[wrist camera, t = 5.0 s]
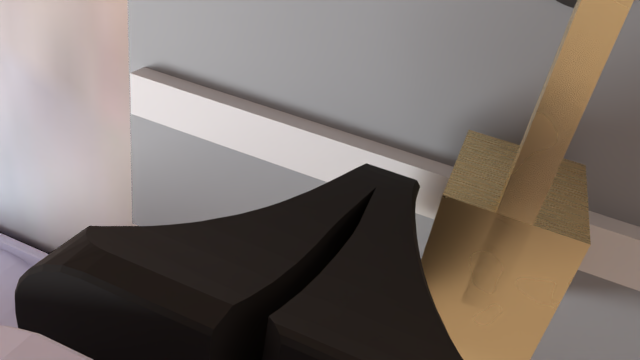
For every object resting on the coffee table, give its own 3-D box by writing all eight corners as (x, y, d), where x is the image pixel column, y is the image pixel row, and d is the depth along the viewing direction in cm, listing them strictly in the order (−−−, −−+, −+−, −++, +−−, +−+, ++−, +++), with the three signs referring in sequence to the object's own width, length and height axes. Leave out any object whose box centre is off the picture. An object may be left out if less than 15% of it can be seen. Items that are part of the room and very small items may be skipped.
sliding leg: (424, 262, 14) (389, 356, 11) (544, -94, 10) (534, -85, 7) (519, 298, 14) (506, 404, 11) (689, -65, 9) (742, -42, 6)
